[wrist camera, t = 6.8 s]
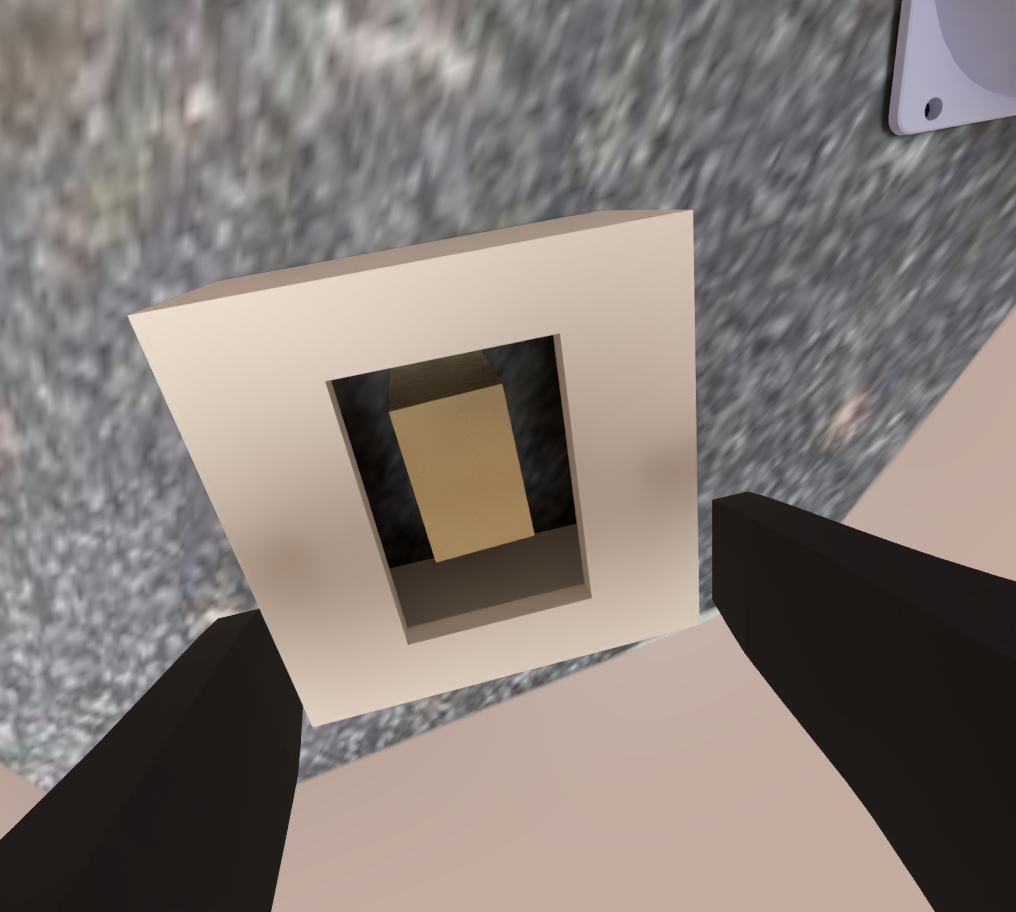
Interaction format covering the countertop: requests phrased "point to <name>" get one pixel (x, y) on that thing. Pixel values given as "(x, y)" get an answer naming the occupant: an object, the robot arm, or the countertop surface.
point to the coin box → (336, 478)
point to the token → (459, 453)
